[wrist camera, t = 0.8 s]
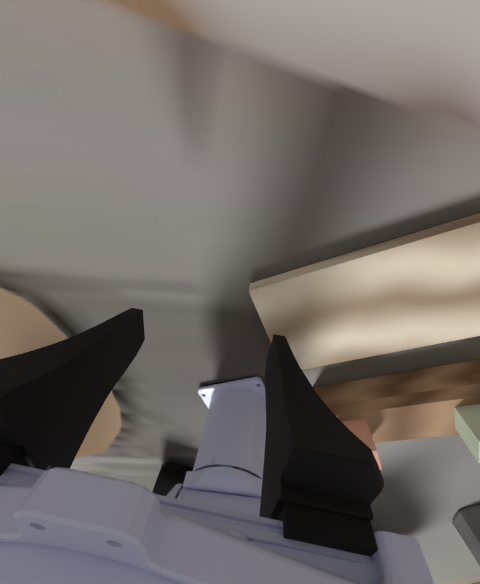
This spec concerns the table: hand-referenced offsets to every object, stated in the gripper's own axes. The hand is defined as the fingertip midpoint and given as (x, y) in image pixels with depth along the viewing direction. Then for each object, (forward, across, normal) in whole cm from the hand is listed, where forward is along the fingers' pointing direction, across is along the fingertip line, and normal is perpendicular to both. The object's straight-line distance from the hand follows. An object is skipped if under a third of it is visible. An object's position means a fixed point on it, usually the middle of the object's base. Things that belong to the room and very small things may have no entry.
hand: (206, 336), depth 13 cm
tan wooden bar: (+10, -19, +11) cm, 24 cm away
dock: (+10, -12, +1) cm, 16 cm away
